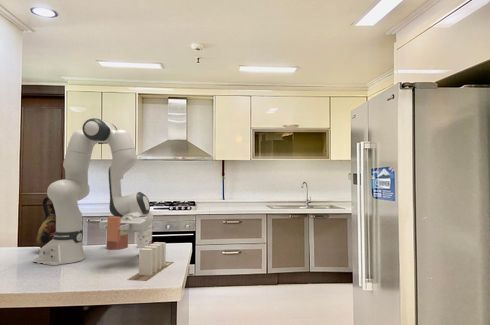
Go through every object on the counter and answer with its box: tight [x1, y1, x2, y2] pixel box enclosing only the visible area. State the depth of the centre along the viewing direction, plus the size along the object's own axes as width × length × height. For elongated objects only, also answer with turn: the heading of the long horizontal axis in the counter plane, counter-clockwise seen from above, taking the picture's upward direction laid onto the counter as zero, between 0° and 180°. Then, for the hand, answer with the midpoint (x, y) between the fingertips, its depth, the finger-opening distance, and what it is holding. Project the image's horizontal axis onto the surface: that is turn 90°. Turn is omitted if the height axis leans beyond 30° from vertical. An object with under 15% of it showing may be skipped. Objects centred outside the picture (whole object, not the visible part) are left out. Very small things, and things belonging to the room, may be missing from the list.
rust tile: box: [106, 216, 121, 242], centre depth 130 cm, size 2×5×10 cm, turn 80°
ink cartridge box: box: [136, 222, 153, 249], centre depth 178 cm, size 9×5×15 cm, turn 168°
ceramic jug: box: [36, 196, 56, 249], centre depth 168 cm, size 17×15×30 cm
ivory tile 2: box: [152, 241, 167, 267], centre depth 135 cm, size 2×5×10 cm, turn 80°
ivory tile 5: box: [138, 248, 153, 275], centre depth 123 cm, size 2×5×10 cm, turn 80°
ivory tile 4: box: [143, 246, 157, 272], centre depth 127 cm, size 2×5×10 cm, turn 80°
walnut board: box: [127, 261, 175, 282], centre depth 129 cm, size 8×26×1 cm, turn 170°
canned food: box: [106, 230, 129, 251], centre depth 176 cm, size 11×11×12 cm
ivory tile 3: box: [149, 243, 162, 269], centre depth 131 cm, size 2×5×10 cm, turn 80°
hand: (112, 227), depth 129 cm, fingers closed on rust tile, 5 cm apart
